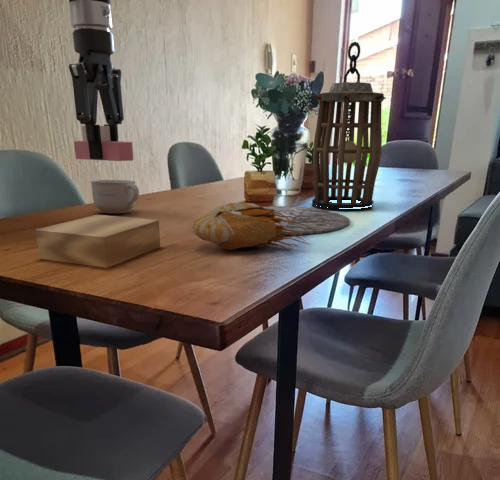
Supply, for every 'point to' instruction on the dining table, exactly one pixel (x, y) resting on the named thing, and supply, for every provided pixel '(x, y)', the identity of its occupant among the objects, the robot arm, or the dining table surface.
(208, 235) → the nautilus
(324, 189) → the lantern
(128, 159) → the pink-and-white stacked brick
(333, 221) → the grey-brown round placemat
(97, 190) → the teacup
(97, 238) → the block
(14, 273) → the dining table surface
